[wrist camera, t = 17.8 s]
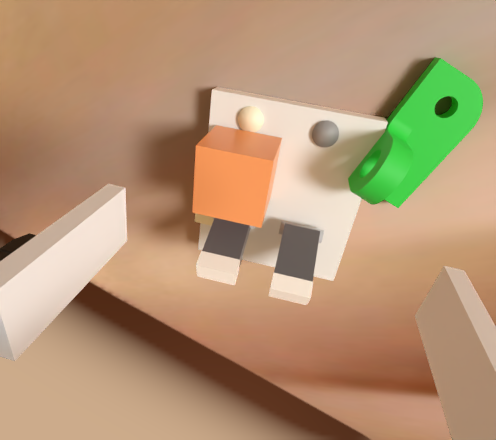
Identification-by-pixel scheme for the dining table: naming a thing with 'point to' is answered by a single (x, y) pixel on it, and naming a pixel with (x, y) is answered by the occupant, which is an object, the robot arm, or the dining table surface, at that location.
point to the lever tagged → (223, 251)
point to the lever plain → (295, 263)
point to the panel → (301, 170)
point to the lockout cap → (235, 175)
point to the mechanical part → (418, 135)
